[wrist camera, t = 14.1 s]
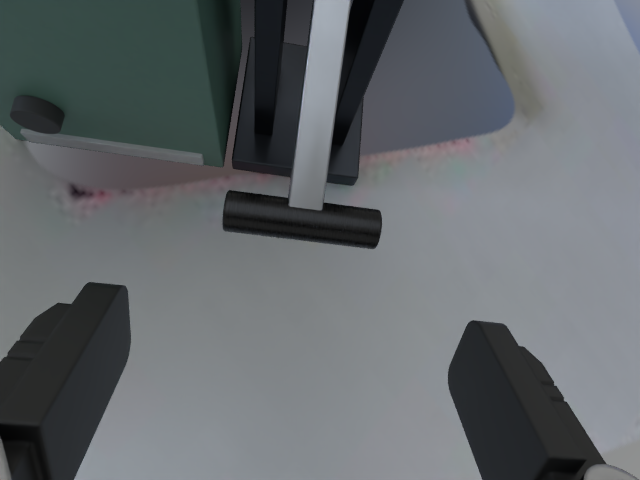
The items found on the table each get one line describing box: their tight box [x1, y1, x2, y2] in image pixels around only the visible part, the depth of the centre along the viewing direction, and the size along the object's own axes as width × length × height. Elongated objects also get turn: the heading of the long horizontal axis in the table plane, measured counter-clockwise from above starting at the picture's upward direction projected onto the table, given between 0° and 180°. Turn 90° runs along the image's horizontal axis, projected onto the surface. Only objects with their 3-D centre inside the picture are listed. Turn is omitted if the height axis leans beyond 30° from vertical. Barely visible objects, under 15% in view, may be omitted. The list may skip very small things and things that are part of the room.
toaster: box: [0, 0, 242, 167], centre depth 19 cm, size 9×11×13 cm
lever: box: [223, 0, 382, 249], centre depth 14 cm, size 13×5×2 cm, turn 176°
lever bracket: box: [232, 0, 404, 185], centre depth 19 cm, size 8×7×16 cm
